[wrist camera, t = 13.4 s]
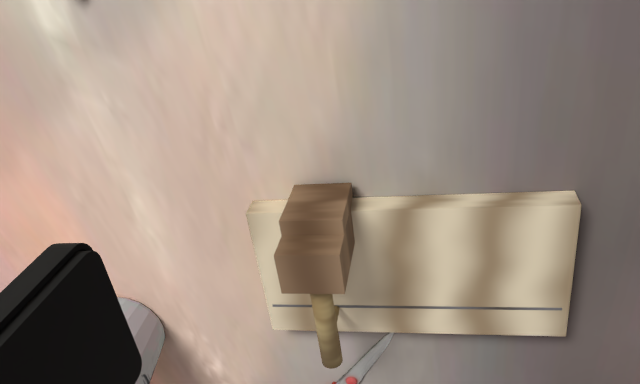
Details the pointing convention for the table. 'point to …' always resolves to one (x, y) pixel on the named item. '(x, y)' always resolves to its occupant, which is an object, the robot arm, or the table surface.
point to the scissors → (365, 362)
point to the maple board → (441, 264)
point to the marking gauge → (318, 255)
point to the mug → (144, 335)
